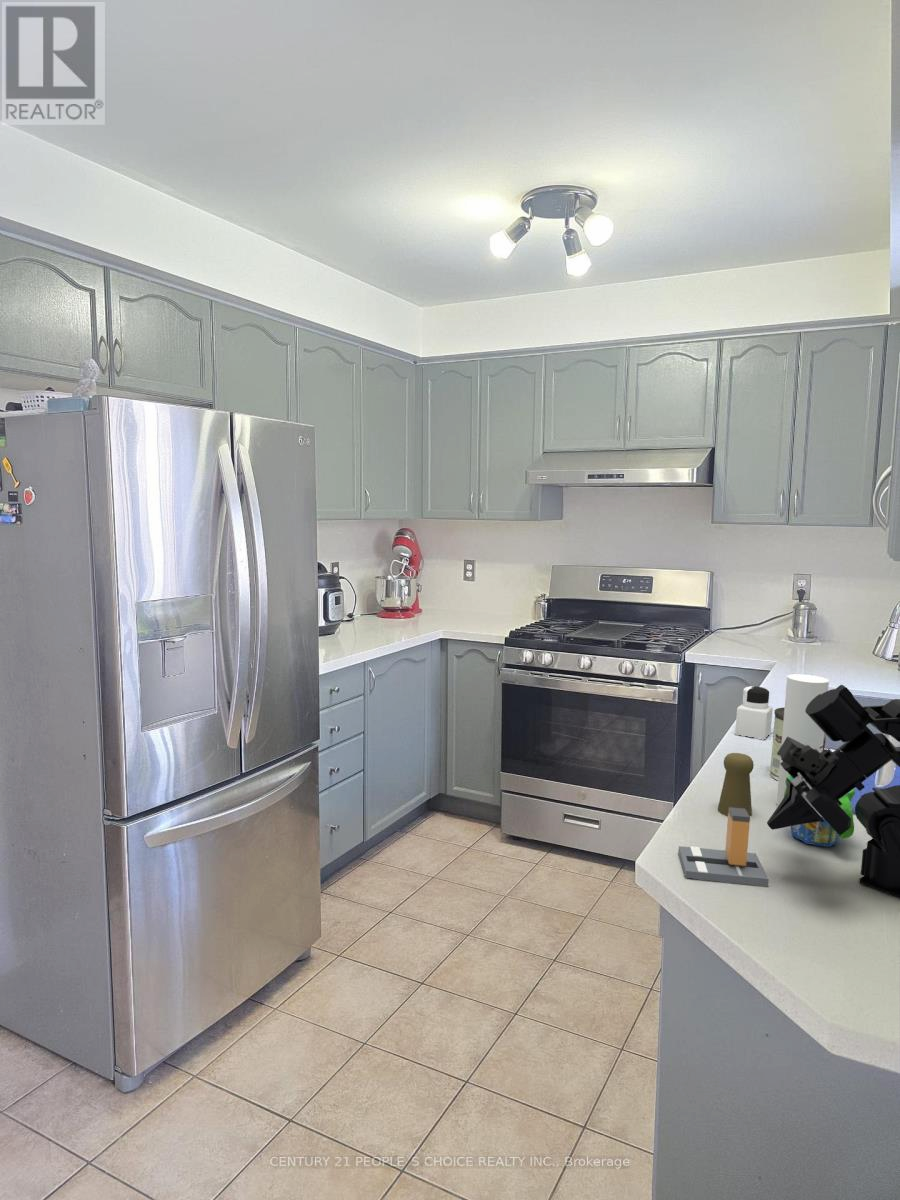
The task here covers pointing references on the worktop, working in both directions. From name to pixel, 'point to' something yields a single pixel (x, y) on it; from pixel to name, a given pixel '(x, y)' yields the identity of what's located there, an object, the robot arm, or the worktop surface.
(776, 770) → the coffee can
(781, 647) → the worktop surface
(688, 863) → the fader console
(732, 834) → the fader tab
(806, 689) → the cylindrical container
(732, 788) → the cork
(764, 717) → the medicine bottle
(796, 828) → the snack cup
